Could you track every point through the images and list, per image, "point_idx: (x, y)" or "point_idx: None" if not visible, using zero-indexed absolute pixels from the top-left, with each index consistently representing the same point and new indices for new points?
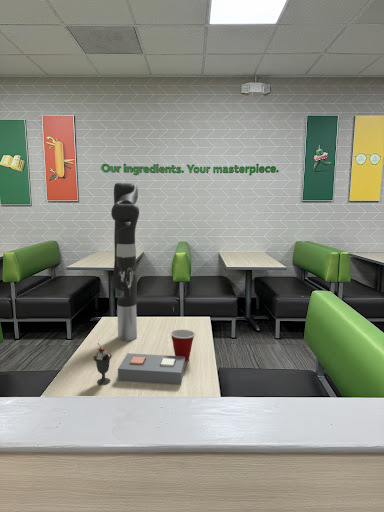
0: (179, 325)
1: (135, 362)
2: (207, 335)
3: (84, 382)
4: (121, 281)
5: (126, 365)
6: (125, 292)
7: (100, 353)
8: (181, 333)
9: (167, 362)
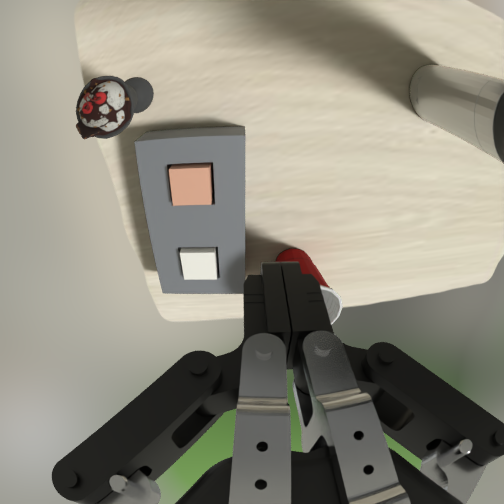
0: (477, 232)
1: (171, 185)
2: (410, 295)
3: (123, 47)
4: (90, 452)
5: (159, 159)
6: (245, 313)
7: (80, 112)
8: (333, 298)
9: (192, 266)
